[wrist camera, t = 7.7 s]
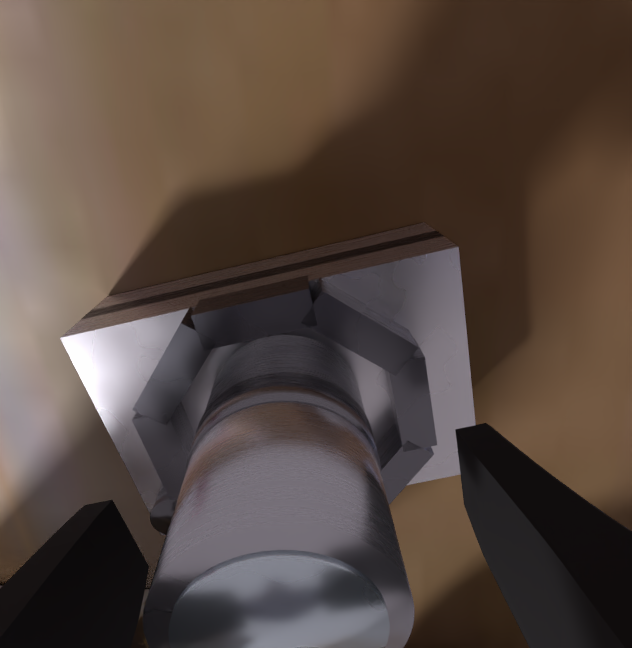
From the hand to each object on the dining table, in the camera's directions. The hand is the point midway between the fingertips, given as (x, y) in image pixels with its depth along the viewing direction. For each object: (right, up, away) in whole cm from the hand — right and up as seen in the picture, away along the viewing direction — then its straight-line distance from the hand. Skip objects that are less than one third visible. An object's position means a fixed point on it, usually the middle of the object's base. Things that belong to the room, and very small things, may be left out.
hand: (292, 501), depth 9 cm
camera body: (0, +3, +6) cm, 6 cm away
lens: (0, +2, +3) cm, 3 cm away
